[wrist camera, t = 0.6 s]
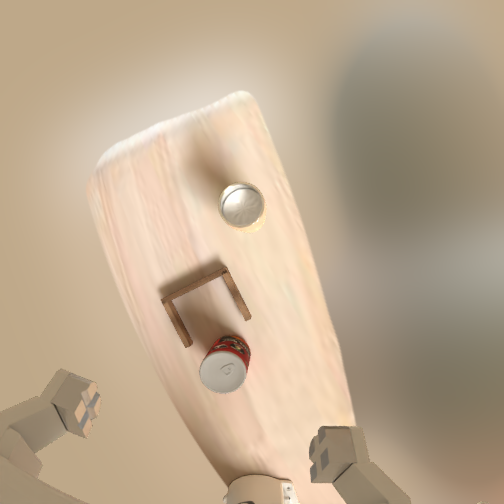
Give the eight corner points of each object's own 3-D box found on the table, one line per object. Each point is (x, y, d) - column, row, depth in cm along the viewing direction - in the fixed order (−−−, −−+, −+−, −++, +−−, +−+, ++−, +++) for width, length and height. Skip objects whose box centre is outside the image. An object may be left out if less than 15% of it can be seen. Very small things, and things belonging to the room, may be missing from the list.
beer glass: (223, 215, 57) (206, 202, 42) (251, 191, 57) (244, 170, 42) (246, 243, 57) (237, 239, 42) (275, 219, 57) (276, 207, 42)
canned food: (258, 347, 57) (255, 368, 46) (236, 377, 57) (228, 402, 46) (225, 326, 57) (215, 342, 46) (204, 357, 58) (190, 377, 47)
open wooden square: (251, 316, 57) (250, 318, 54) (189, 344, 58) (185, 348, 55) (226, 266, 57) (224, 267, 55) (165, 297, 58) (160, 299, 56)
